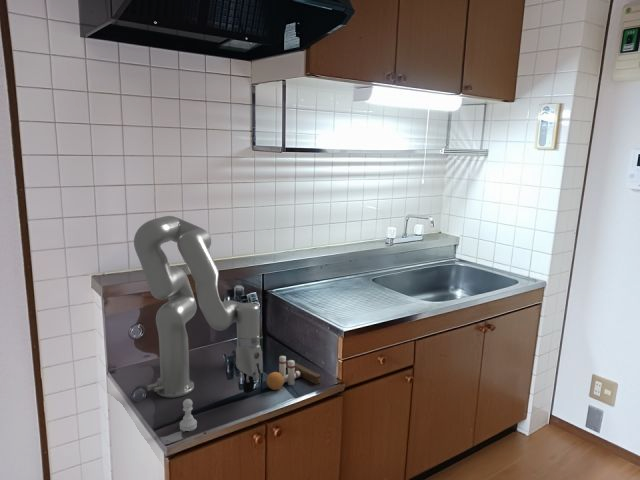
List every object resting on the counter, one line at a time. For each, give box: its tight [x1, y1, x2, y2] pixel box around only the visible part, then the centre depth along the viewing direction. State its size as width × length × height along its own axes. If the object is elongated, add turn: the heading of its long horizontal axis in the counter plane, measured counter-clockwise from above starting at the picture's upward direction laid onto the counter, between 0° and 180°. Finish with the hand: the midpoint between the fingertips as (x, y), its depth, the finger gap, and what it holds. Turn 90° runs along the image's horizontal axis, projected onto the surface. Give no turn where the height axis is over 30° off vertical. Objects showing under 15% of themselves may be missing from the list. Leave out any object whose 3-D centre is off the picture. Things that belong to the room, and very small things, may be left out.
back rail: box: [286, 359, 322, 385], centre depth 183 cm, size 2×18×3 cm, turn 42°
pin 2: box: [287, 359, 296, 386], centre depth 176 cm, size 2×2×8 cm
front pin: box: [283, 371, 301, 384], centre depth 179 cm, size 2×2×8 cm
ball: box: [266, 371, 285, 391], centre depth 172 cm, size 6×6×6 cm
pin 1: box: [278, 355, 287, 376], centre depth 179 cm, size 2×2×8 cm
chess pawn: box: [179, 398, 198, 432], centre depth 146 cm, size 5×5×9 cm
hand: (248, 391), depth 167 cm, fingers closed
